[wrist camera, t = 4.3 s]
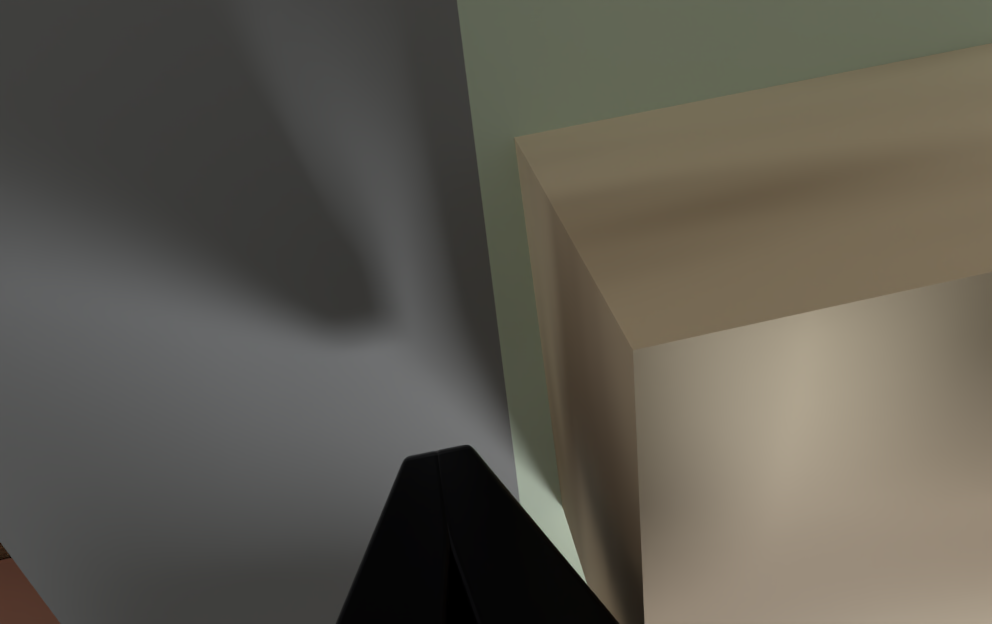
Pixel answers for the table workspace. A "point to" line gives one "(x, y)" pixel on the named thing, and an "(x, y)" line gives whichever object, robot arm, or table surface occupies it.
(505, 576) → the robot arm
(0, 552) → the table surface
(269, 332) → the pink rimmed tray
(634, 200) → the block
